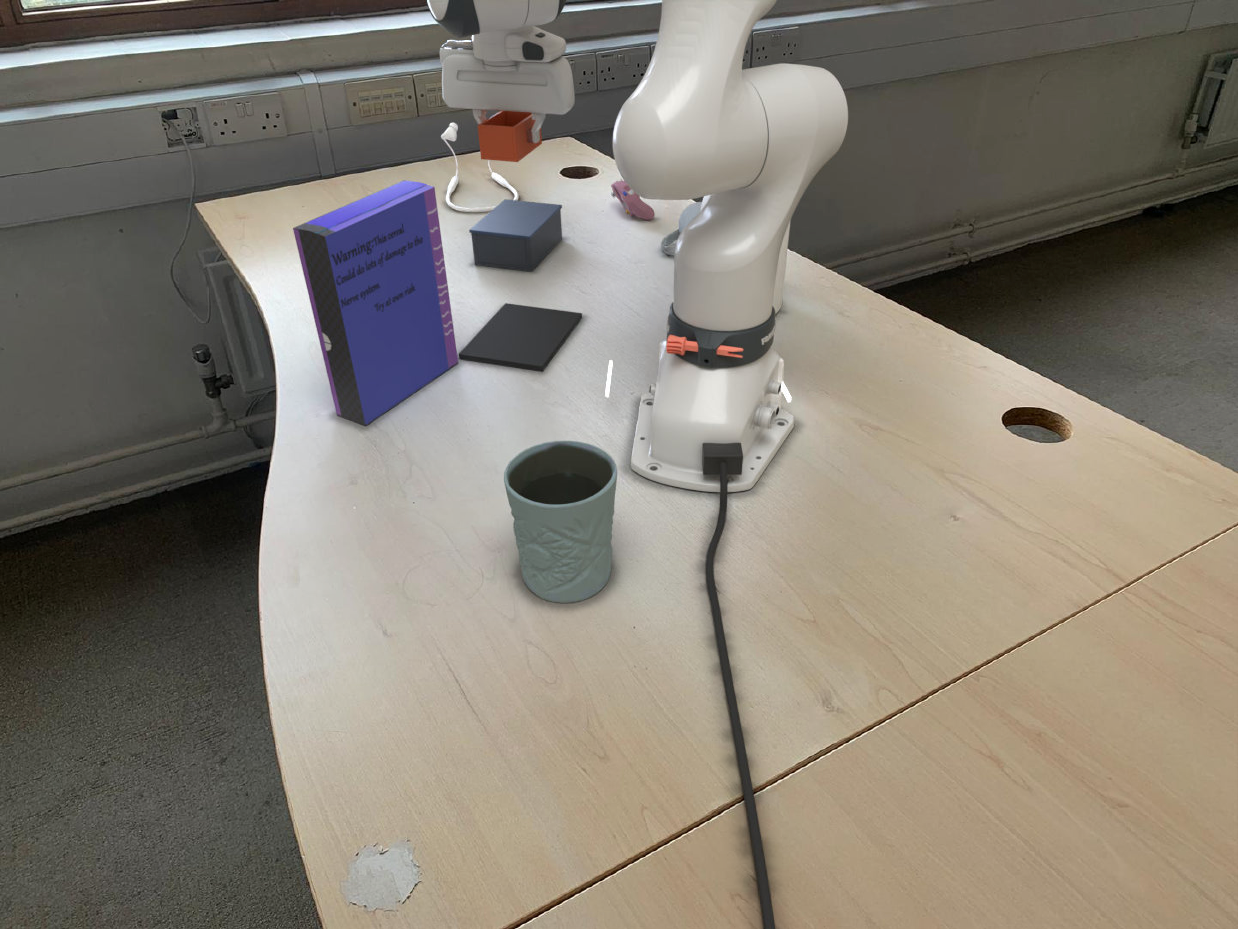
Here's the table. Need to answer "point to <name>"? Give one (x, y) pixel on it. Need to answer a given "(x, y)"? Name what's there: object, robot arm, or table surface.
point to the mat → (521, 337)
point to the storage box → (517, 235)
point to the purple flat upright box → (379, 298)
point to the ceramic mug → (680, 227)
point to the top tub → (506, 136)
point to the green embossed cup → (563, 518)
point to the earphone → (452, 136)
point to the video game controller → (631, 201)
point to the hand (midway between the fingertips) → (511, 140)
